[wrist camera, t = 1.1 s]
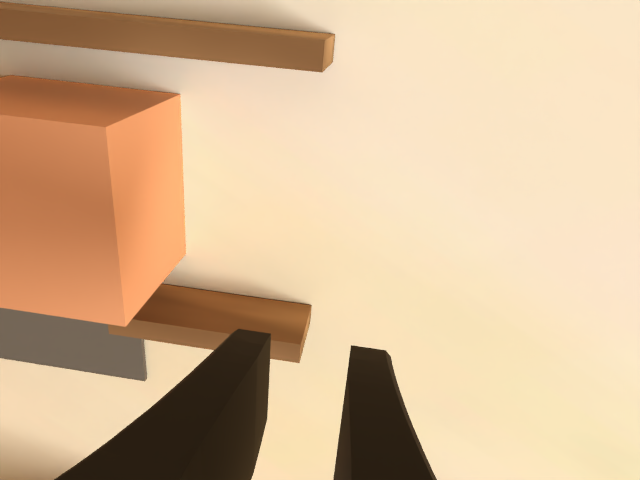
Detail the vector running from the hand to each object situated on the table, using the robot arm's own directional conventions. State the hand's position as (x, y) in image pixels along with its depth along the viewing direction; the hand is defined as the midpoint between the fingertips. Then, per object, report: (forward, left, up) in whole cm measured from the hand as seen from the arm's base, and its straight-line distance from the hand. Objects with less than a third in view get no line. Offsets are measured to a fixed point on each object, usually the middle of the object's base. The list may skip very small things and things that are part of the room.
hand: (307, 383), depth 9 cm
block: (0, +9, -10) cm, 13 cm away
